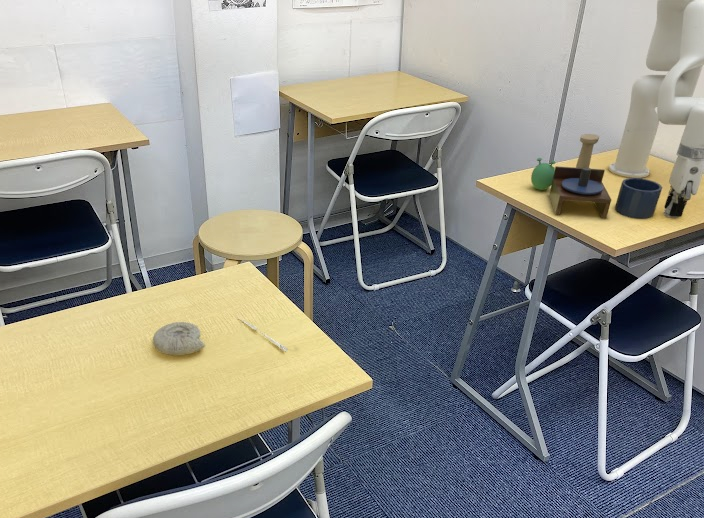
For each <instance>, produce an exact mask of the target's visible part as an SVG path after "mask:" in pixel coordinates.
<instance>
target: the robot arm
mask: <svg viewBox="0 0 704 518" xmlns="http://www.w3.org/2000/svg"><path fill="white" fill-rule="evenodd" d="M645 58H646V59H645V65H646V68H647V69H648V70H650V71H655V72H667V73H666V74H646V75H642V76H640V77H638V78H637V79H636V80H635V81H634V82H633V83H632V88H631V93H630V104H629V109H628V114H627V118H626V122H625V126H624V129H623V132H622V137H621V140H620V144H619V146H618V151H617V155H616V159H615V162H613V163H610V164H609V166H608V170H609V172H611V173H612V174H614V175H617V176H620V177H625V178H641V179H643V178H646V177H648V176H649V175H650V174H651V173H650V172H651V171H650V169H649V168H648V167H647V166H648V165H647V164H648V162H649V158H650V155H651V151H652V149H653V144H654V141H655V138H656V135H657V131H658V128H659V125H660V124H663V125H666V126H667V125H668V126H685V127H684V130H683V132H682V136H681V138H680V142H679V145H678V148H677V151H676V156H677V157H676V160H675V162H674V163H673V167H672V170H671V172H670V176H669V181H668V183H669V185H670V186H669V187H670V188H669V191H668V194H667V197H666V200H665V203H664V206H663V207H664V210H665V209H666V208H667V207H668V206H669V205H670V203H671V201H672V197H673V191H676V192H677V195H676V199H675V202H673V204H672V207H671V210H670V213H669V215H670V216H676V217H679V218H681V217H682V216H683V213H684V210H685V207H686V205H687V204H688V201H690V200H691V198H692V196H695V195H697V194H698V191H699V187H700V184H701V181H702V178H703V174H704V96H703V97H700V96H699V97H698V96H694V93H695V90H696V87H697V85H698V82H699V78H700V76H701V72H702V70H703V66H704V0H657V1H656V22H655V26H654V30H653V32H652V37H651V39H650V43H649V47H648V51H647V54H646V57H645ZM681 191H685V193H682V192H681ZM680 195H684V196H683V197H680Z"/></svg>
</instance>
